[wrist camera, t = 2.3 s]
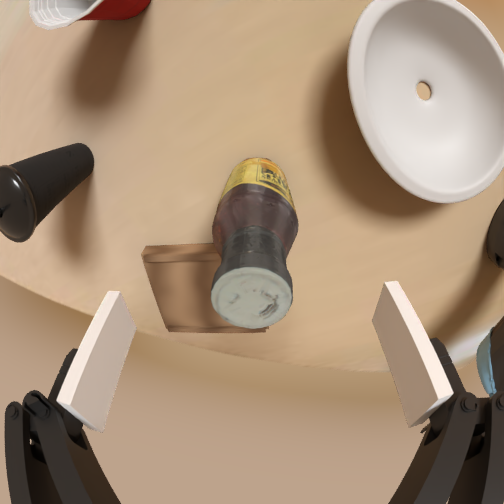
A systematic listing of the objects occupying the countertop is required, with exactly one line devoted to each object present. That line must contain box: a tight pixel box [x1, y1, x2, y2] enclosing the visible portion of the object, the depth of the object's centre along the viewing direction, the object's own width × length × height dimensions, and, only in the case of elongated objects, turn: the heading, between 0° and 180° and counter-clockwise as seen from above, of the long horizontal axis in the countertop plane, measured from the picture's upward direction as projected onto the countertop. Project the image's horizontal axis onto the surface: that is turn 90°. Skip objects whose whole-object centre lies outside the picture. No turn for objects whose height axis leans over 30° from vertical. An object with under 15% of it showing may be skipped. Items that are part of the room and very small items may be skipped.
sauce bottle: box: [210, 158, 298, 329], centre depth 22 cm, size 7×6×20 cm
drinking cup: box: [0, 143, 94, 242], centre depth 20 cm, size 8×8×20 cm
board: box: [141, 243, 269, 333], centre depth 37 cm, size 16×14×3 cm
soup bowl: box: [347, 0, 504, 204], centre depth 20 cm, size 24×24×7 cm
